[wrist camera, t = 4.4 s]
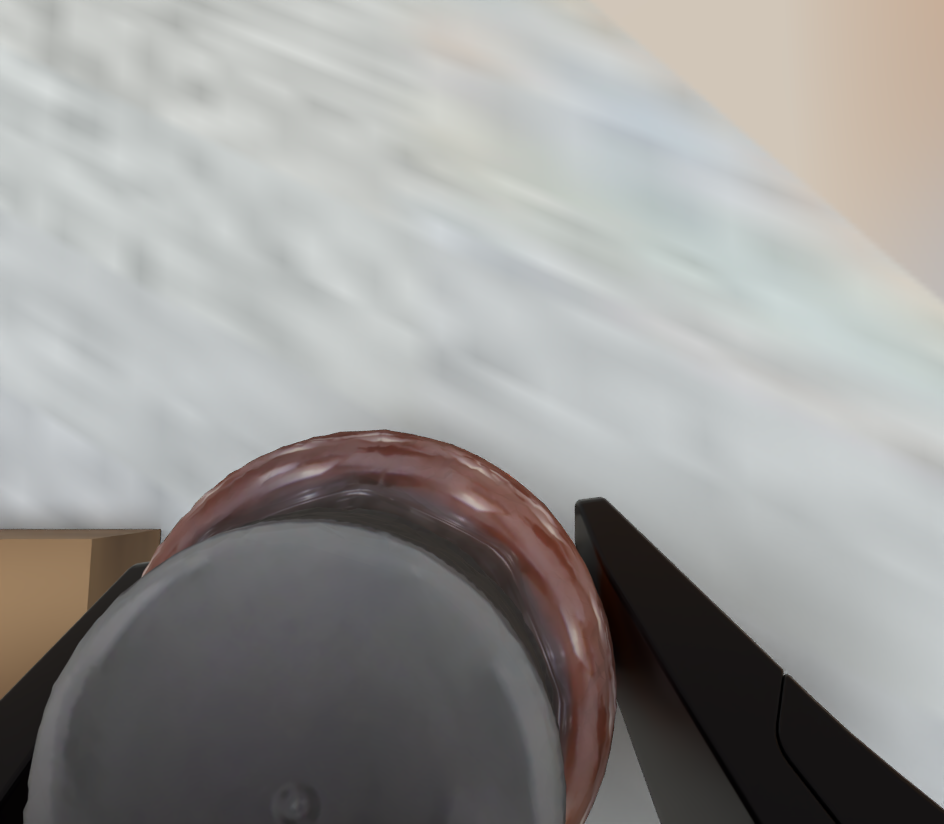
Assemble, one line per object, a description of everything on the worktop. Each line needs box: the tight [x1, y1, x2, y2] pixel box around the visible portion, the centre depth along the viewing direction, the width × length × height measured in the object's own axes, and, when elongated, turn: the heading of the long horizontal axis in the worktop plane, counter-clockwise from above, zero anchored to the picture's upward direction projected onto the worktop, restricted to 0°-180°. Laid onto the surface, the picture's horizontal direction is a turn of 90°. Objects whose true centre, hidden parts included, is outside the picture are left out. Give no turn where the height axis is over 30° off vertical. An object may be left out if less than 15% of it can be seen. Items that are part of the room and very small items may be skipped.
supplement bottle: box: [23, 430, 617, 824], centre depth 10 cm, size 6×6×11 cm
